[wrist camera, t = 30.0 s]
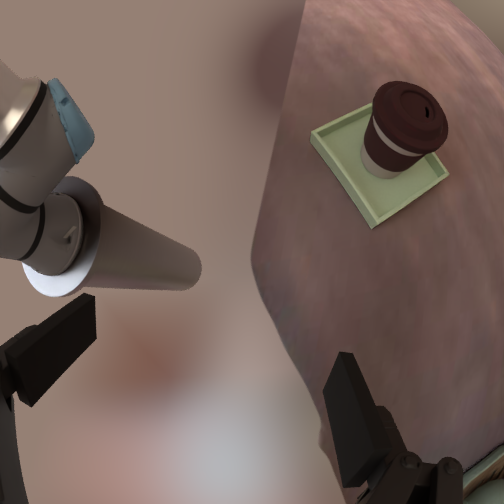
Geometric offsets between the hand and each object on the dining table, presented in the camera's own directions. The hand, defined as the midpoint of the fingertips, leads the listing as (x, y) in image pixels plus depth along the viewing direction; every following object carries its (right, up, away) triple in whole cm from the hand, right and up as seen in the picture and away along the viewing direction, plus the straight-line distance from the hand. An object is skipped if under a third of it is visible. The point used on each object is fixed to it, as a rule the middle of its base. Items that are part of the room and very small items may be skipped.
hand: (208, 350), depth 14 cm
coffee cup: (+22, +19, +26) cm, 39 cm away
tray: (+22, +19, +27) cm, 40 cm away
